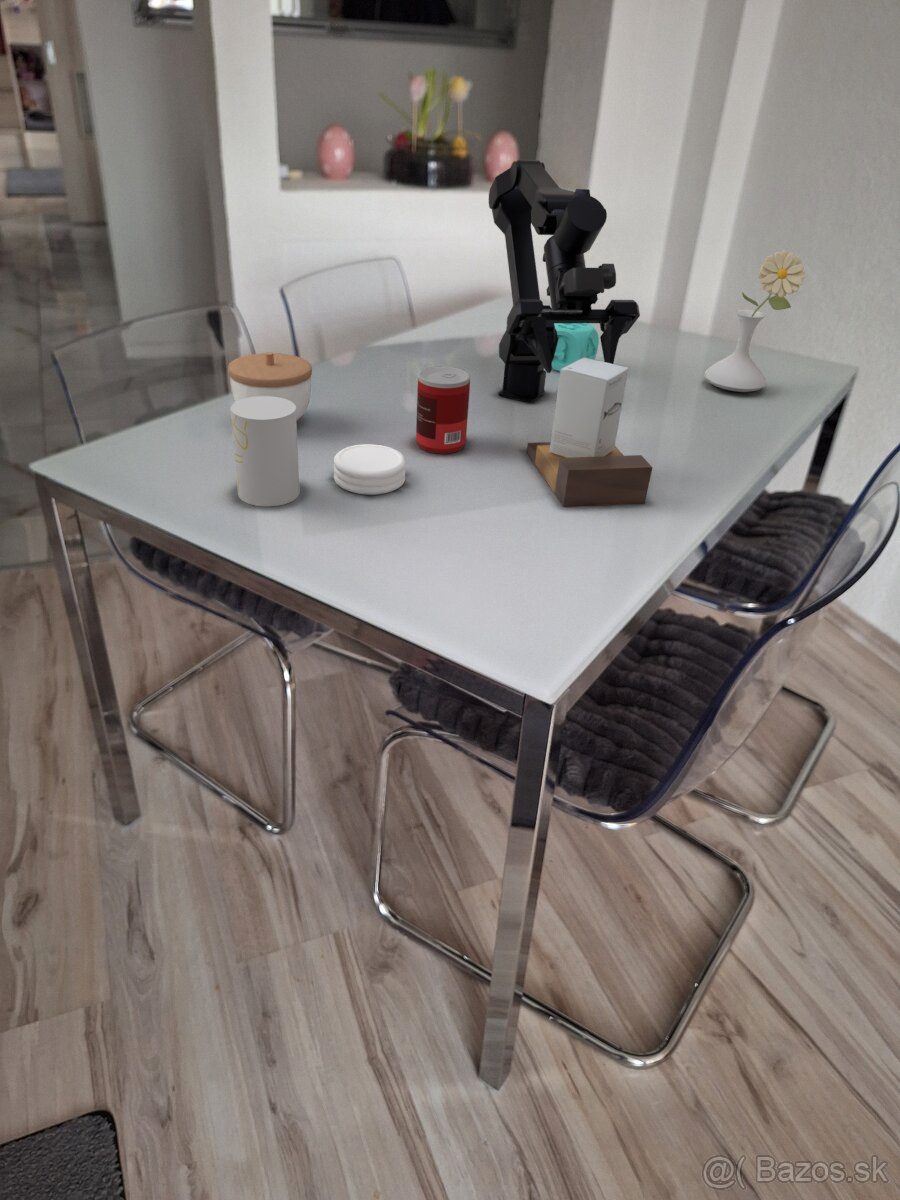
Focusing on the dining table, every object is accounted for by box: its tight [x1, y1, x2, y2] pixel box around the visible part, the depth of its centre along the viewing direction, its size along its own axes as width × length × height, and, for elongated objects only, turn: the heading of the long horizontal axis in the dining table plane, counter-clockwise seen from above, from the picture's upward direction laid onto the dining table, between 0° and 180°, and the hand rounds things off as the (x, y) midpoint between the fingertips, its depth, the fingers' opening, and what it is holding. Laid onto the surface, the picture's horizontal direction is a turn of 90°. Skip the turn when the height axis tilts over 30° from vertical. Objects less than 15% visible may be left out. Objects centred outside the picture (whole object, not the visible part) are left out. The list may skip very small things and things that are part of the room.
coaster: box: [333, 443, 407, 496], centre depth 119 cm, size 10×10×4 cm
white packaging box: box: [549, 358, 629, 458], centre depth 122 cm, size 7×7×13 cm
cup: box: [230, 396, 301, 507], centre depth 112 cm, size 8×8×12 cm
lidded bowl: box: [227, 351, 313, 422], centre depth 133 cm, size 13×13×11 cm
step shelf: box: [526, 441, 653, 508], centre depth 124 cm, size 18×12×6 cm, turn 12°
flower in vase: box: [704, 249, 806, 393], centre depth 156 cm, size 13×11×25 cm
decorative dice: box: [552, 323, 600, 373], centre depth 165 cm, size 8×8×8 cm
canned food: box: [415, 366, 471, 455], centre depth 129 cm, size 8×8×11 cm
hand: (580, 371), depth 124 cm, fingers open, 9 cm apart
